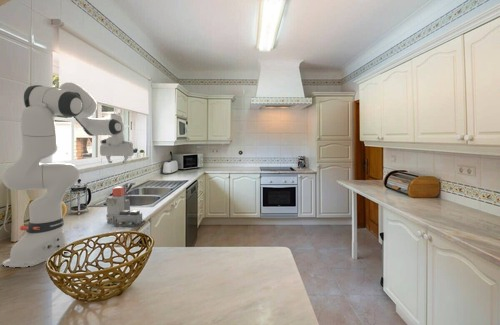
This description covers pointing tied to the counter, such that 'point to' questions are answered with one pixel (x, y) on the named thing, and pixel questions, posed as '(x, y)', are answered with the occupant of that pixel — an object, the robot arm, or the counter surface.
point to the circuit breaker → (116, 207)
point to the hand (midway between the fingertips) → (117, 163)
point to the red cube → (118, 191)
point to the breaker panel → (129, 220)
